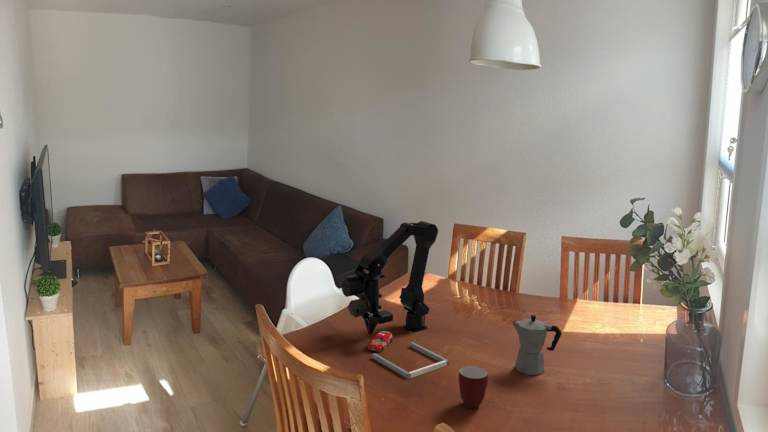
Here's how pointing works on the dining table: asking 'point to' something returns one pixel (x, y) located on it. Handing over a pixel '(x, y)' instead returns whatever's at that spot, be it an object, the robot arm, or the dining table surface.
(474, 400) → the mug
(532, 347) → the coffeepot
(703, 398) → the dining table surface
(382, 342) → the race car
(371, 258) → the robot arm
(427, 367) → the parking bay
